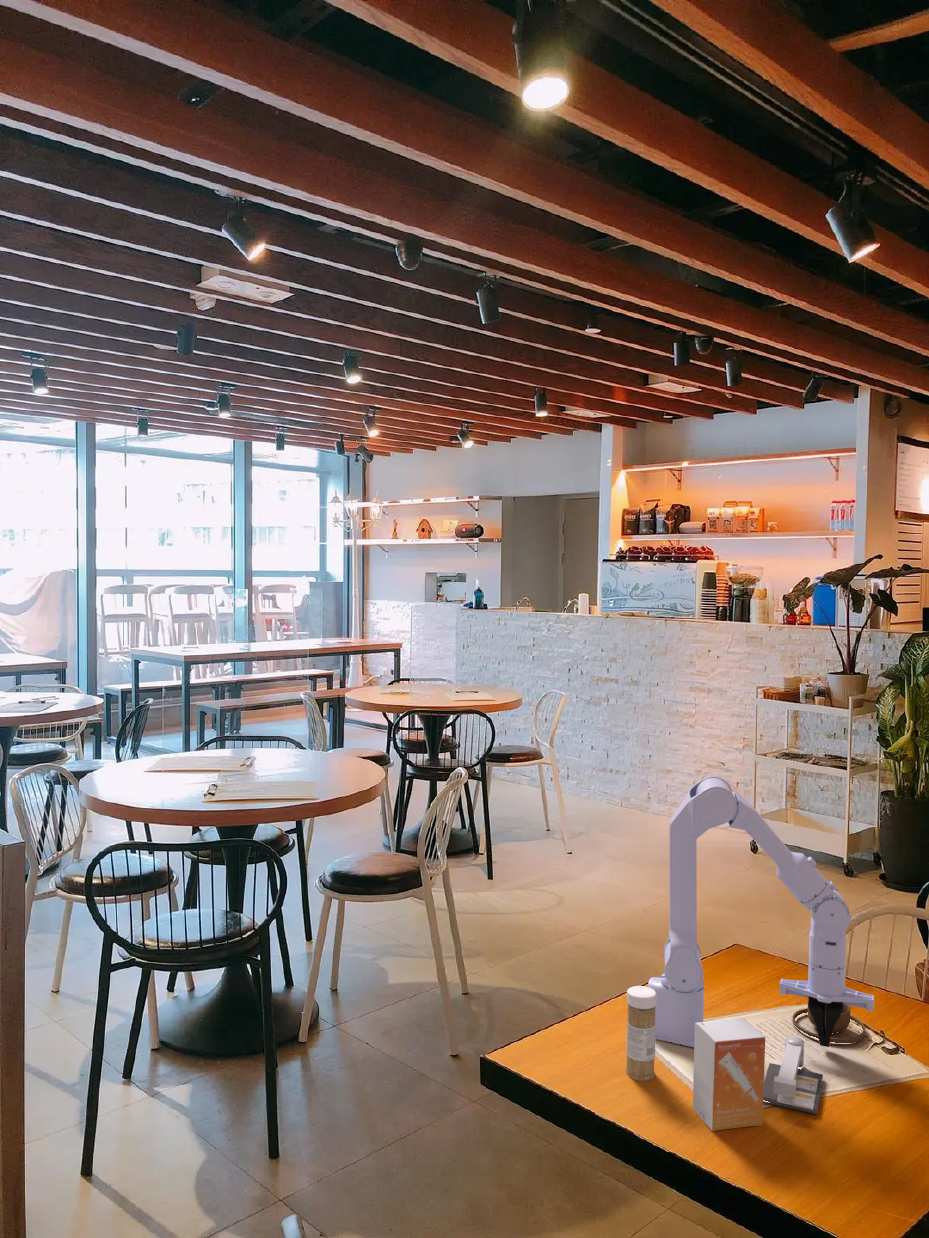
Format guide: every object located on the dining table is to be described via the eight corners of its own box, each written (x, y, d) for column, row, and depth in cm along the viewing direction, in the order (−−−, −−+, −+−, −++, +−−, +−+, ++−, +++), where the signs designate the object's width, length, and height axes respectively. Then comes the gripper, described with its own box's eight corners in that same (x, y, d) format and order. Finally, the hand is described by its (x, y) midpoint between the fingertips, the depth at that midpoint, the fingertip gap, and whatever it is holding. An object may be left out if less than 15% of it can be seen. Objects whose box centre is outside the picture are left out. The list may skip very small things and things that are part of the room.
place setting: (763, 1026, 168) (764, 993, 168) (813, 992, 182) (814, 961, 182) (863, 1061, 156) (864, 1026, 156) (908, 1022, 170) (909, 990, 170)
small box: (712, 1132, 134) (714, 1041, 133) (691, 1108, 140) (693, 1021, 140) (764, 1126, 136) (766, 1036, 135) (741, 1102, 142) (743, 1016, 141)
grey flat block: (759, 1102, 142) (759, 1089, 142) (772, 1056, 156) (772, 1044, 156) (816, 1116, 138) (817, 1102, 138) (824, 1067, 152) (825, 1055, 152)
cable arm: (785, 1045, 155) (786, 1034, 155) (805, 1049, 153) (805, 1038, 153) (773, 1092, 140) (773, 1080, 140) (794, 1097, 139) (795, 1085, 139)
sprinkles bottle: (642, 1065, 152) (644, 982, 152) (661, 1078, 148) (662, 993, 148) (619, 1071, 150) (621, 987, 150) (637, 1085, 146) (639, 999, 146)
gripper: (778, 963, 157) (776, 1044, 157) (873, 979, 151) (871, 1064, 151) (783, 948, 163) (781, 1026, 164) (875, 964, 157) (872, 1044, 158)
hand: (824, 1043), depth 158 cm, fingers closed
